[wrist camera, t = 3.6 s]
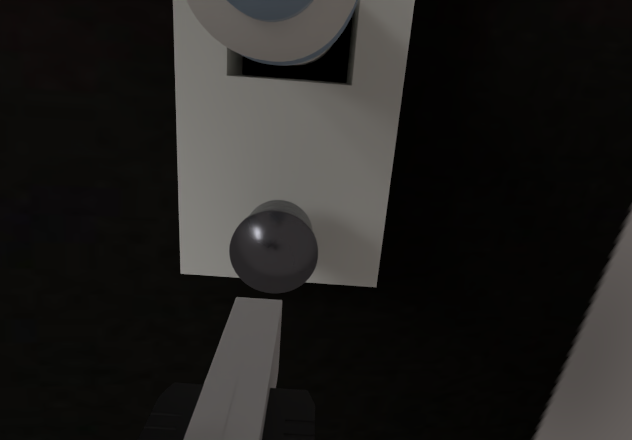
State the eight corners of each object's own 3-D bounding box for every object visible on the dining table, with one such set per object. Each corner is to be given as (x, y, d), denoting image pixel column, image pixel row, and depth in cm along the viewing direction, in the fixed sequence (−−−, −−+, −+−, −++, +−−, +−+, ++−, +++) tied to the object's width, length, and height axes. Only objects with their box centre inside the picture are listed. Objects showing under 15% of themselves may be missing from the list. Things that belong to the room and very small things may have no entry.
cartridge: (253, 63, 27) (164, 56, 12) (256, -30, 26) (155, -190, 10) (336, 70, 28) (359, 71, 12) (344, -23, 26) (384, -169, 10)
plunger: (239, 265, 24) (228, 290, 21) (240, 191, 23) (229, 208, 20) (315, 270, 24) (314, 296, 21) (321, 197, 23) (321, 214, 20)
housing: (201, 242, 31) (180, 273, 27) (195, -319, 22) (160, -427, 17) (367, 254, 32) (376, 287, 27) (435, -295, 22) (467, -396, 17)
